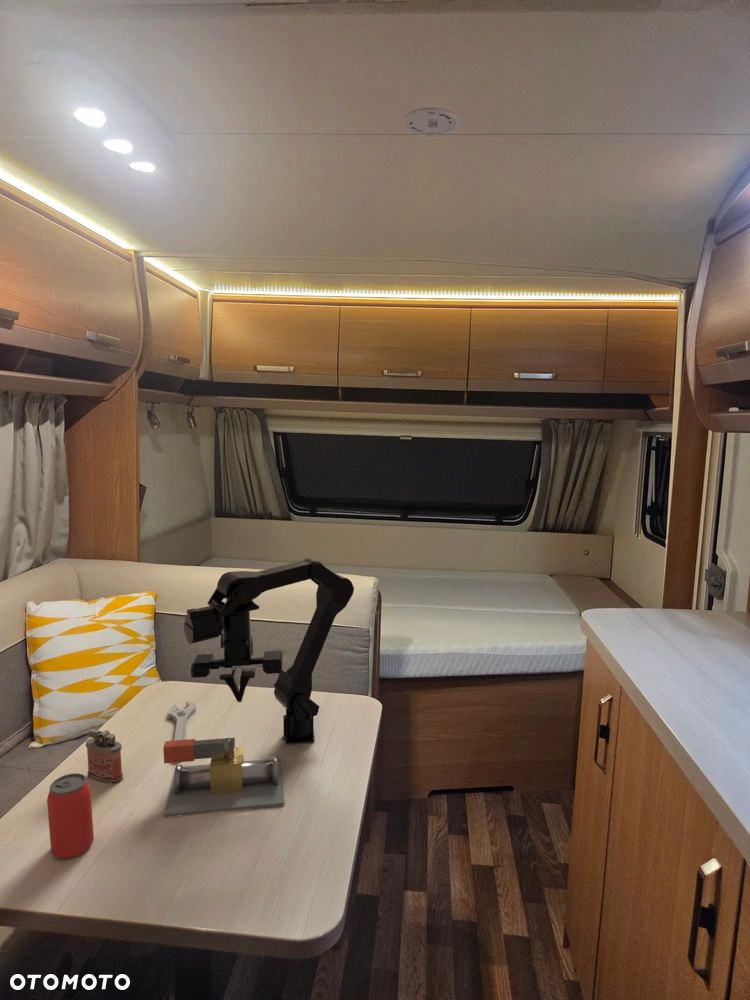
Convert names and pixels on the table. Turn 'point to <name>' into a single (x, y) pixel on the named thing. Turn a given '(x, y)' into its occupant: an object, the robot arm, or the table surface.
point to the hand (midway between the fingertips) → (239, 701)
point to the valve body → (226, 774)
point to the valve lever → (197, 749)
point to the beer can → (70, 816)
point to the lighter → (104, 757)
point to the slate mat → (226, 797)
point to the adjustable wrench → (181, 718)
